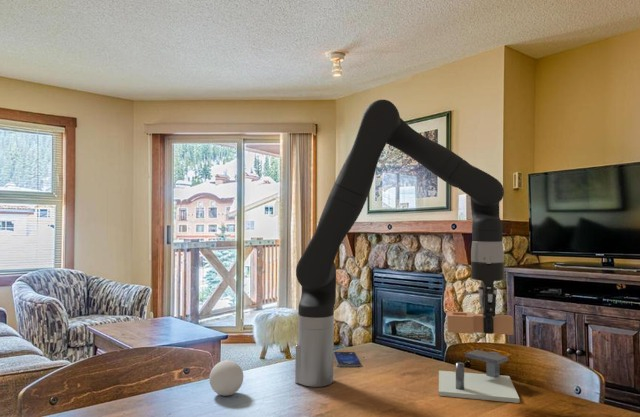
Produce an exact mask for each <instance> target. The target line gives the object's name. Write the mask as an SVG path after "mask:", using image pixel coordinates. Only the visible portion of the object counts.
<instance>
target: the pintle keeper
mask: <svg viewBox="0 0 640 417" xmlns="http://www.w3.org/2000/svg"><path fill="white" fill-rule="evenodd" d="M464 357H465V358H469V359H471V360H476V361H481V362H484V363H486V366H485V367H486V368H485V369H486V370H485V371H486V372H485V374H486V376H490V377H494V378H496V377H498V376H500V367H501V366H500V364H502V363H506V362H509V356H506V355H501V354H500V352H496V351H484V350H480V349H475V350H471V351H469V352H465V354H464ZM455 372H456V389H458V390H464V373H465V363H464V362H460V361H457V362H455Z"/></svg>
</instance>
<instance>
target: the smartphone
mask: <svg viewBox="0 0 640 417" xmlns="http://www.w3.org/2000/svg"><path fill="white" fill-rule="evenodd" d="M333 355H334V356H333V359H334V360H335V363H336V366H338V368H358V367H357V366H362V367H363V364H362V363H361V360H360V359H359V357H358V355H357V352H355V351H333Z"/></svg>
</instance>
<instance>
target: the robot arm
mask: <svg viewBox="0 0 640 417" xmlns="http://www.w3.org/2000/svg"><path fill="white" fill-rule="evenodd" d="M386 145H389V146H391V147H393V148H395V149H397V150H398V151H401V152H402V153H404V154H406V155H407V156H409V157H410V158H412V159H413V160H415V161H416V162H417V163H418V164H420V165H421V166H422V167H423V168H425V169H427V170H428V171H429V172H431V173H432V174H433V175H435V176H437V177H438V178H439V179H440V180H442V181H444V182H445V183H446V184H448V185H450V186H451V187H454V188H457V189H459V190H460V191H462V192H463V193H465V194H466V195H467V196H469V197H470V207H471V216H472V222H471V223H472V224H471V248H470V263H471V264H470V276H471V280H475V281H480V282H481V283H480V284H481V286H478V290H477V293H478V294H479V300H478V302H479V305H480V306H479V309H480V314H483V328H484V333H483V334H486V335H487V334H488V335H494V334H493V332H494V326H493V318H494V317H495V315H497V314H496V308H497V295H498V289H497V288H496V286H495V284H494V283H495V282H500V281H503V280H504V279H505V263H504V261H505V258H504V257H505V256H504V255H505V254H504V244H503V223H502V219H501V218H500V202H501V201H502V200H503V198H504V195H505V190H504V185H503V184H502V183H501V181H499V179H497V178H496V177H494V176H493V175H491V174H490V173H488V172H486V171H484V170H482V169H480V168H478V167H476V166H475V165H472V164H470V163H469V162H468V161H466V160H465V158H464V159H463V158H462V157H461V156H460V155H458V154H457V153H455V152H454V151H452V150H451V149H450V148H448V147H446V146H444V145H442V144H440V143H438V142H436V141H434V140H431V139H430V138H428V137H427V136H424V135H422V134H420V133H419V132H417V131H416V130H415V129H413V128H412V127H411V126H410V125H409V124H408V123H407V122H405V121H404V120H403V118H401V116H400V112H399V110H398V107H397V106H396V105H395V104H394V103H393V102H391V101H390V100H388V99H377V100H375V101H373V102H371V103H370V104H369V105H368V106H367V107H366V109H365V110H364V113H363V114H362V118H361V121H360V124H359V127H358V130H357V133H356V136H355V139H354V141H353V145H352V147H351V149H350V151H349V153H348V155H347V157H346V159H345V161H344V162H343V165H342V166H341V169H340V171H339V173H338V175H337V177H336V179H335V181H334V183H333V185H332V188H331V190H330V193H329V194H328V197H327V200H326V203H325V205H324V208H323V210H322V212H321V215H320V217H319V220H318V224H317V226H316V229H315V231H314V233H313V236H312V237H311V239H310V241H309V243H308V244H307V246H306V248H305V250H304V251H303V253H302V255H301V257H300V258H299V260H298V262H297V265H296V267H295V268H296V269H295V276H296V279H297V281H298V283H299V285H300V286H301V296H300V300H299V302H298V310H297V311H298V313H297V314H298V316H297V317H298V321H297V322H298V323H297V329H298V330H297V332H298V333H297V334H298V335H297V337H298V338H297V341H298V342H297V344H296V345H295V364H294V365H295V374H294V375H295V376H294V379H295V380H294V381H295V384H300V385H303V386H306V387H312V388H313V387H314V388H316V387H317V388H318V387H319V388H320V387H325V386H329V385H331V384H333V383H334V356H333V352H334V343H335V342H334V341H335V340H334V337H335V336H334V328H335V327H334V325H335V324H334V323H335V322H334V319H335V318H334V315H335V314H334V313H335V305H336V304H335V303H336V295H337V294H336V292H337V268H336V263H335V259H336V257H337V254H338V251H339V248H340V246H341V244H342V242H343V241H344V240H345V238H346V236H347V234H348V233H349V232H350V231H351V230H352V227H353V226H354V224H355V223H356V222H357V221H358V218H359V216H360V215H361V213H362V211H363V208H364V206H365V204H366V202H367V198H368V197H369V194H370V192H371V189H372V186H373V182H374V178H375V174H376V170H377V166H378V162H379V160H380V158H381V155H382V153H383V150H384V149H385V147H386Z"/></svg>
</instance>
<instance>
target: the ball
mask: <svg viewBox="0 0 640 417" xmlns="http://www.w3.org/2000/svg"><path fill="white" fill-rule="evenodd" d="M208 377H209V378H208V380H209V381H208V382H209V385H210V387H211V389H212V390H213V392H214V393H216V394H217V395H219V396H224V397H227V396H231V395H234V394H235V393H237V392H238V391H239V389H240V388H241V387H242V385H243V382H244V372H243V370H242V367H241V366H240V365H239V364H238V363H237V362H236V361H233V360H230V359H229V360H228V359H225V360H221V361H219V362H218V363H217V364H215V365H213V367H212V369H211V371H210V373H209V376H208Z"/></svg>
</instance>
